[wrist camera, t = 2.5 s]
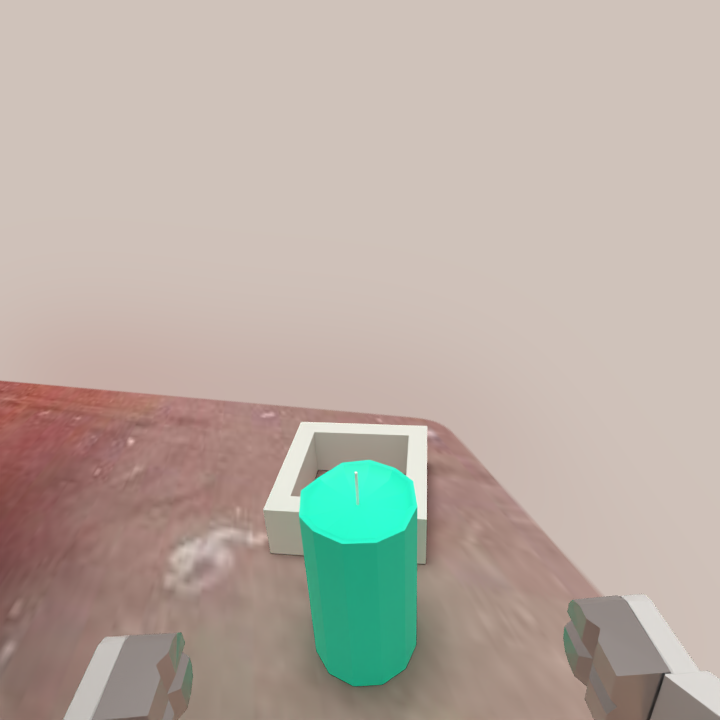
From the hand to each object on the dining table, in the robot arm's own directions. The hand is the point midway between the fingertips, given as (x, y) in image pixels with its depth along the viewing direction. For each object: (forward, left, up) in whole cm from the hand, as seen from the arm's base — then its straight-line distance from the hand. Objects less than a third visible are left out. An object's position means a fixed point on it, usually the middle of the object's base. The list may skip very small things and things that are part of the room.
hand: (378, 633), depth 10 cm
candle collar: (-4, +23, -17) cm, 29 cm away
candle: (-2, +12, -18) cm, 21 cm away
